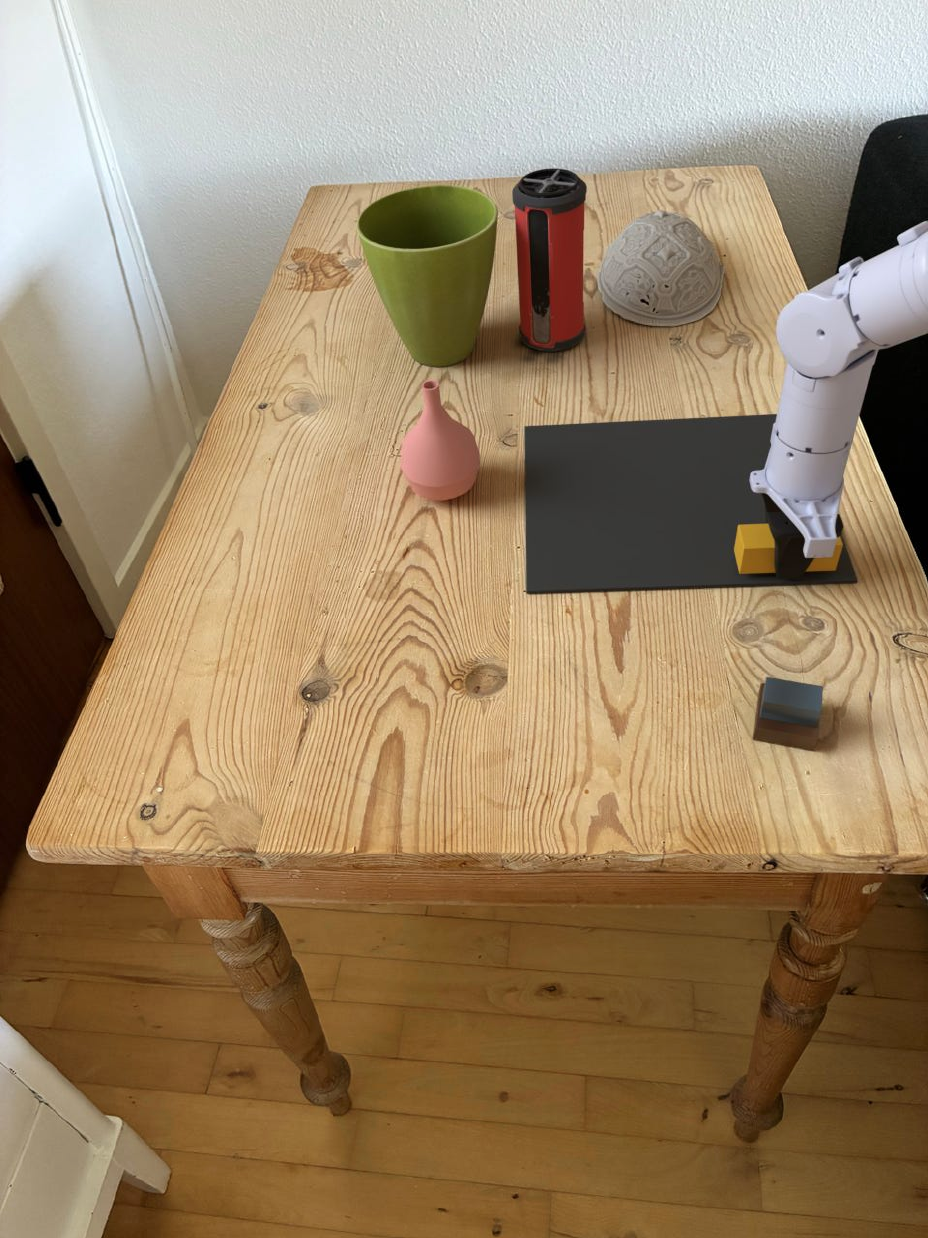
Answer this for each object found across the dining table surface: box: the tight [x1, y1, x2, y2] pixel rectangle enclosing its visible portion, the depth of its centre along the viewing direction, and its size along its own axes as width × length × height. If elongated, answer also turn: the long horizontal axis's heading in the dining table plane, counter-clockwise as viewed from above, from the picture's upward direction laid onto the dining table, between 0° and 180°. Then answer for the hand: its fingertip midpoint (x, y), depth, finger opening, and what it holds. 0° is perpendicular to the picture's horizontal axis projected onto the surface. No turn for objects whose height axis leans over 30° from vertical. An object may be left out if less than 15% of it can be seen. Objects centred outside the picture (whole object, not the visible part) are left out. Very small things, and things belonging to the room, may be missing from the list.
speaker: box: [511, 167, 588, 353], centre depth 103 cm, size 8×8×18 cm
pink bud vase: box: [400, 379, 481, 501], centre depth 88 cm, size 8×8×12 cm
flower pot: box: [355, 184, 499, 368], centre depth 104 cm, size 15×15×16 cm
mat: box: [524, 413, 859, 595], centre depth 89 cm, size 28×24×1 cm
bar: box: [734, 524, 843, 574], centre depth 79 cm, size 8×3×3 cm, turn 88°
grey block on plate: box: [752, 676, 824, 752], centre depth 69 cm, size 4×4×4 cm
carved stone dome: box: [596, 209, 726, 328], centre depth 116 cm, size 16×25×7 cm, turn 172°
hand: (784, 560), depth 81 cm, fingers closed on bar, 3 cm apart
